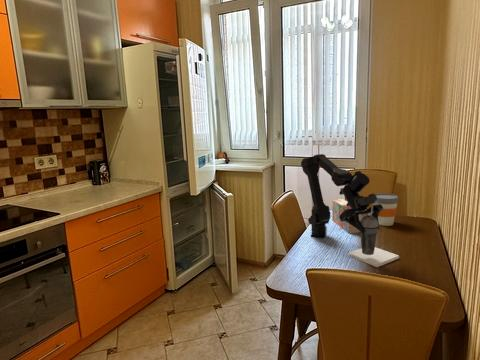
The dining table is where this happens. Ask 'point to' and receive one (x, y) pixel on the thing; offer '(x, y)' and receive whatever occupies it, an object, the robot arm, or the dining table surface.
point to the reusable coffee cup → (387, 208)
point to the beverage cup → (369, 234)
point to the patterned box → (338, 208)
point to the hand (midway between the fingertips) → (371, 231)
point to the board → (374, 257)
